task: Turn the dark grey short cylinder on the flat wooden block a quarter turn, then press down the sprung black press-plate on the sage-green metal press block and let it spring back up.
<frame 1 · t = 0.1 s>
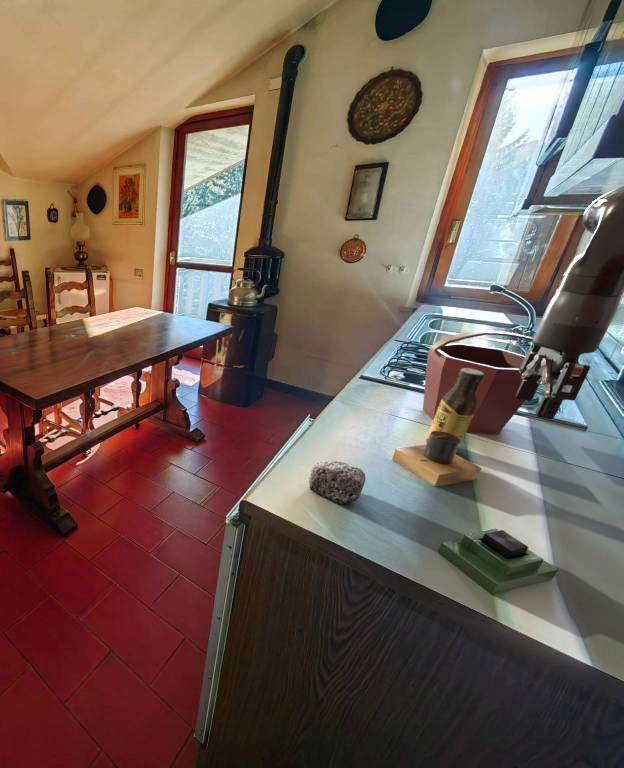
hand: (532, 407, 71), 19 cm above the counter, tool pointing down, fingers open, 8 cm apart
pumice stone: (337, 495, 77), on the counter
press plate: (504, 544, 59), point 4 cm above the counter, slide at 0.1 cm
press block: (492, 565, 61), on the counter
bucket: (462, 421, 107), on the counter
dark grey short cylinder: (441, 446, 83), point 6 cm above the counter, hinge at 0.0°
sauce bottle: (440, 447, 94), on the counter
flat wooden block: (432, 469, 85), on the counter
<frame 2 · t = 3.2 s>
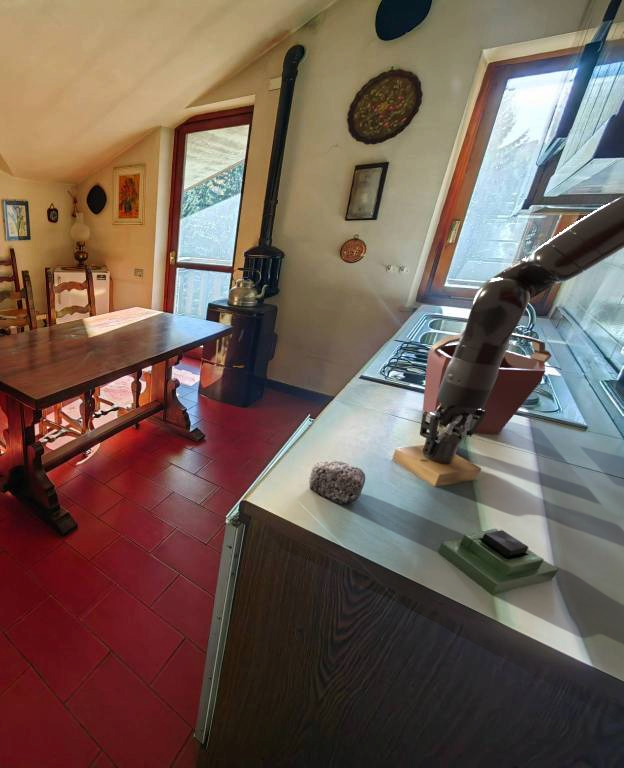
hand: (438, 453, 83), 4 cm above the counter, tool pointing down, fingers closed on dark grey short cylinder, 5 cm apart
dark grey short cylinder: (441, 446, 83), point 6 cm above the counter, hinge at 0.0°, touching gripper
everything else where it was.
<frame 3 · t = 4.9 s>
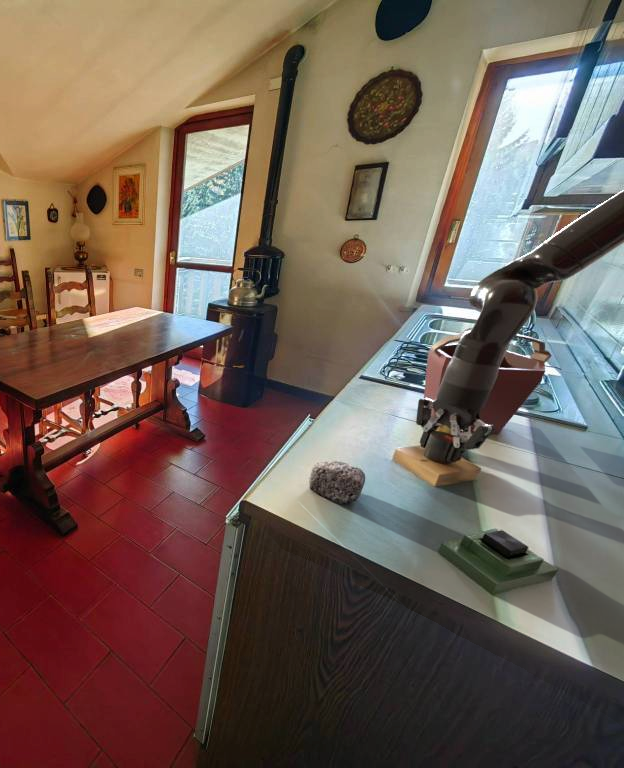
hand: (437, 453, 83), 4 cm above the counter, tool pointing down, fingers closed on dark grey short cylinder, 5 cm apart
dark grey short cylinder: (441, 446, 83), point 6 cm above the counter, hinge at 93.7°, touching gripper
everything else where it was.
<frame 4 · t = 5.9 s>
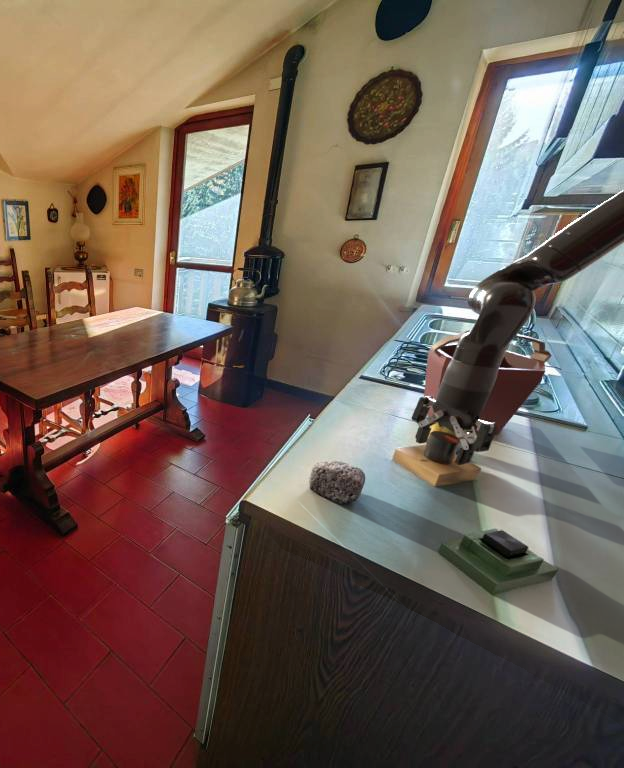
hand: (439, 452, 83), 4 cm above the counter, tool pointing down, fingers open, 8 cm apart
dark grey short cylinder: (441, 446, 83), point 6 cm above the counter, hinge at 93.4°
everything else where it was.
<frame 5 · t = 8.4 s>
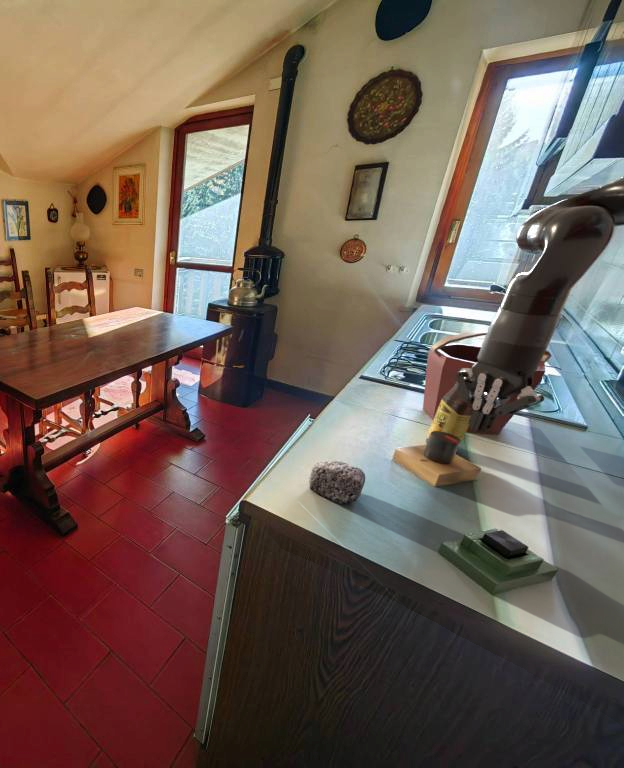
hand: (477, 429, 71), 15 cm above the counter, tool pointing down, fingers closed
nothing on the counter moved.
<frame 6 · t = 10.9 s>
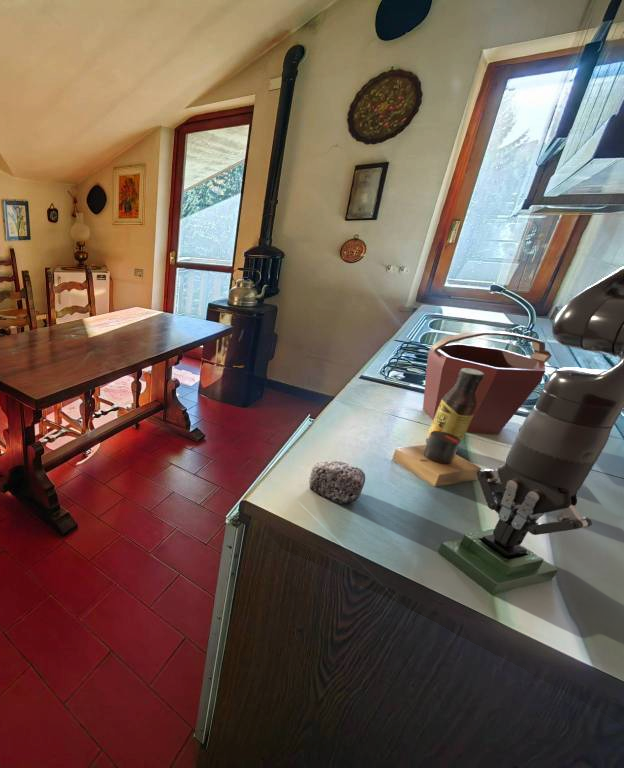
hand: (503, 542, 59), 5 cm above the counter, tool pointing down, fingers closed
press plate: (502, 547, 59), point 4 cm above the counter, slide at -0.5 cm, touching gripper
everything else where it was.
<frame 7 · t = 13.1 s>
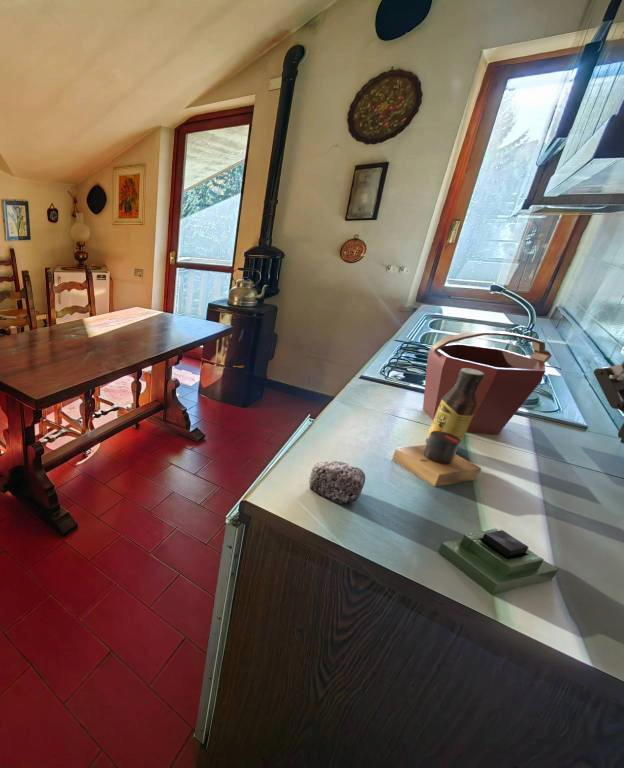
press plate: (504, 544, 59), point 4 cm above the counter, slide at 0.1 cm
everything else where it was.
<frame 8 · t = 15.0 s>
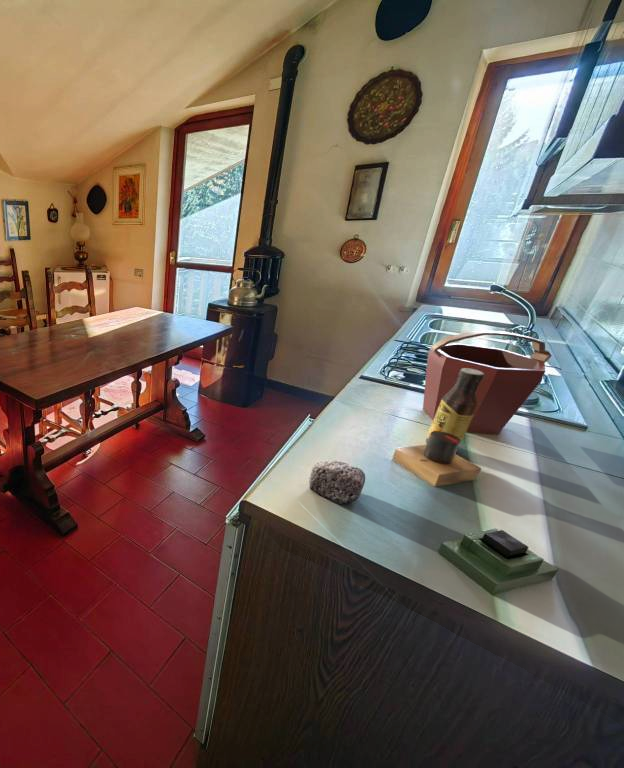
nothing on the counter moved.
at the end: dark grey short cylinder at +93° (first picture: +0°); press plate pushed in 1.1 cm at the most during the clip, back to where it started at the end; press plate slide at 0.1 cm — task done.
